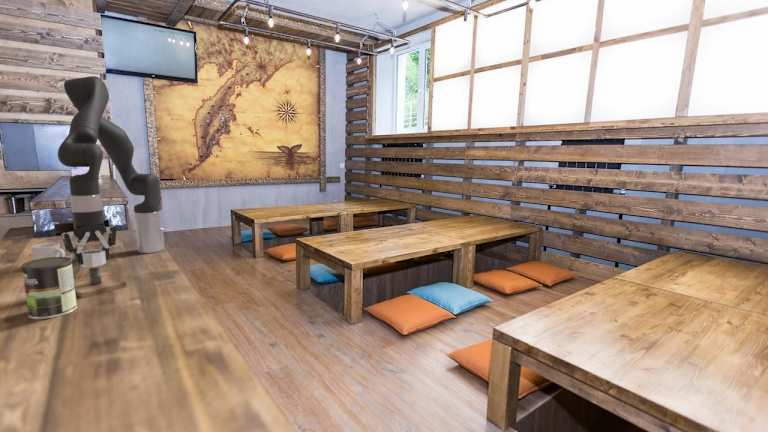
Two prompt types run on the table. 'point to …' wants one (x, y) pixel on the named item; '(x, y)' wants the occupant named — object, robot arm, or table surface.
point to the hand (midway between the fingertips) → (93, 261)
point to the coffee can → (49, 287)
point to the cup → (47, 250)
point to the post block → (97, 284)
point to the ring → (93, 258)
